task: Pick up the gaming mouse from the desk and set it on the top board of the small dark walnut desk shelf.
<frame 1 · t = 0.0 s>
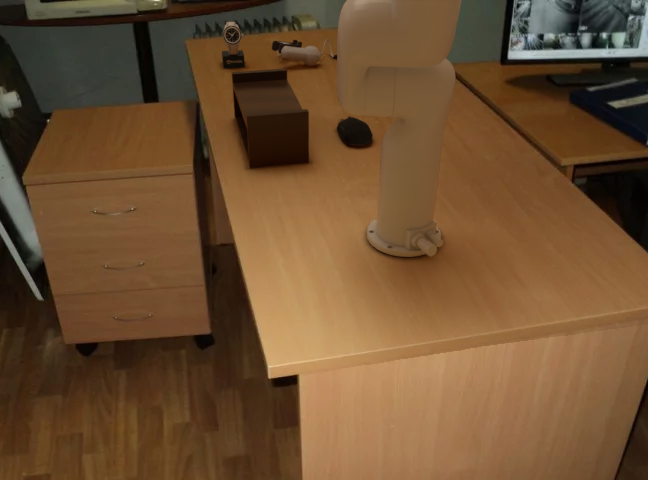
clip-on lamp: (309, 61, 197), on the table
gaming mouse: (351, 134, 159), on the table
shelf: (269, 140, 156), on the table
watch: (233, 65, 194), on the table
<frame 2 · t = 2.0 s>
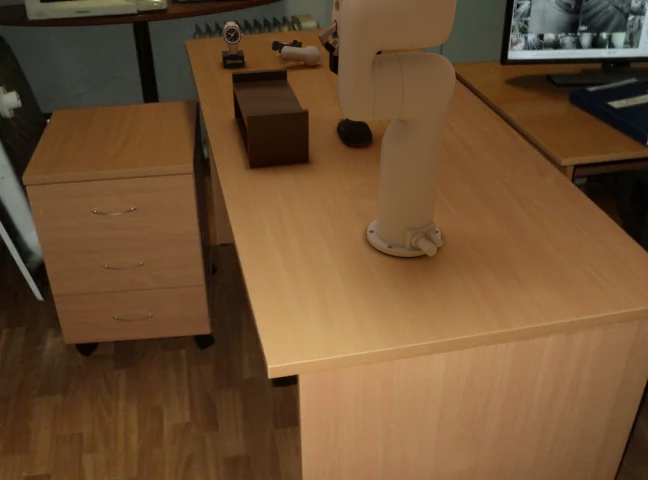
hand: (355, 68, 151), 15 cm above the table, tool pointing down, fingers open, 9 cm apart
nothing on the table moved.
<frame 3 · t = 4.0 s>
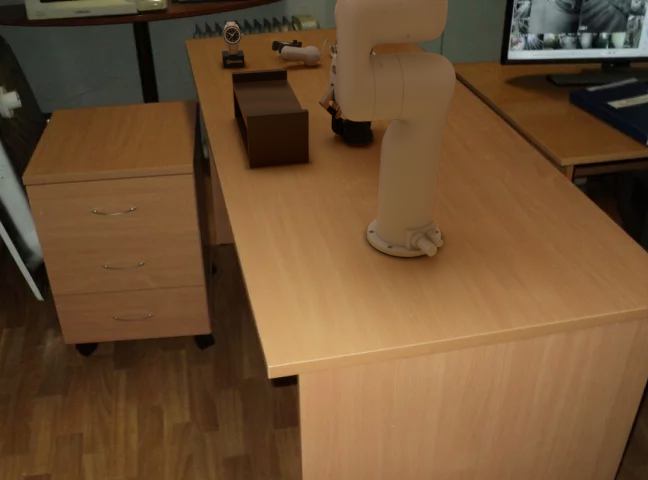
hand: (351, 129, 159), 1 cm above the table, tool pointing down, fingers closed on gaming mouse, 6 cm apart
gaming mouse: (352, 134, 159), on the table, touching gripper
everything else where it was.
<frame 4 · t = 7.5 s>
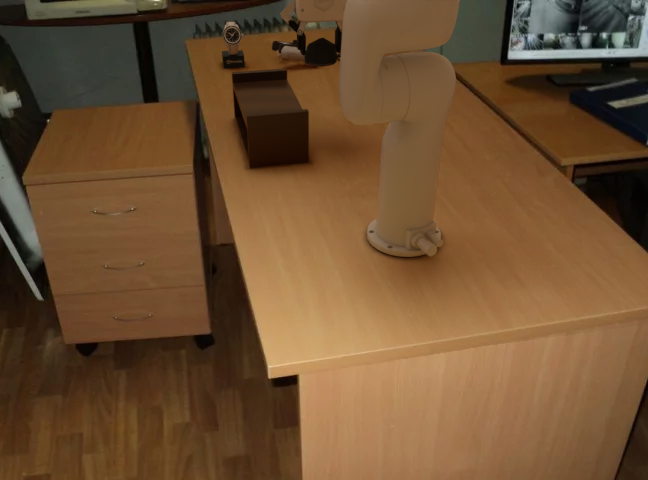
hand: (320, 51, 147), 19 cm above the table, tool pointing down, fingers closed on gaming mouse, 6 cm apart
gaming mouse: (322, 57, 148), point 17 cm above the table, touching gripper
everything else where it was.
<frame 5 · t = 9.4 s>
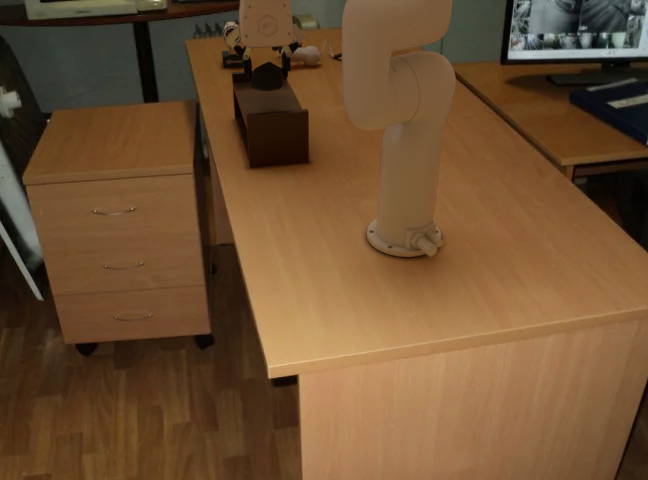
hand: (267, 75, 148), 14 cm above the table, tool pointing down, fingers closed on gaming mouse, 6 cm apart
gaming mouse: (269, 81, 149), point 13 cm above the table, touching gripper
everything else where it was.
when the fingers open (10 cm above the table, at t = 11.0 s): gaming mouse stays where it is, resting on shelf.
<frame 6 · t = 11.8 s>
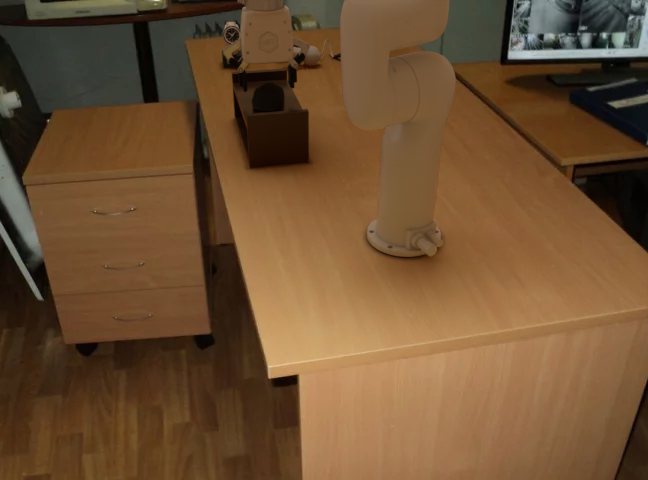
hand: (268, 87, 149), 12 cm above the table, tool pointing down, fingers open, 9 cm apart
gaming mouse: (270, 100, 151), point 9 cm above the table, touching shelf
everything else where it was.
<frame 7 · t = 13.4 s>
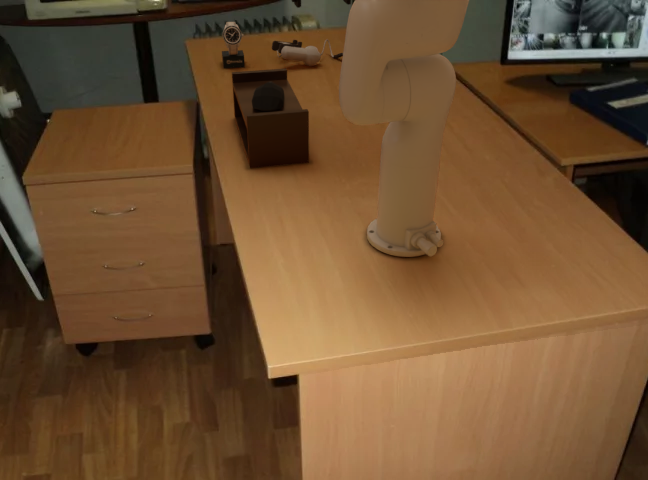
hand: (322, 4, 139), 29 cm above the table, tool pointing down, fingers open, 9 cm apart
nothing on the table moved.
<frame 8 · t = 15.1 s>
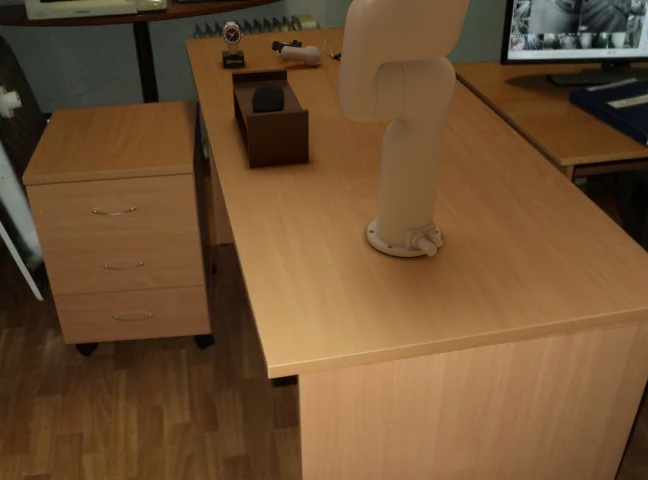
nothing on the table moved.
at the end: gaming mouse inside the target area on the shelf (0.4 cm from its centre), point 8.8 cm above the shelf's base; gaming mouse tilted 0°; the gripper is holding nothing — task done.
